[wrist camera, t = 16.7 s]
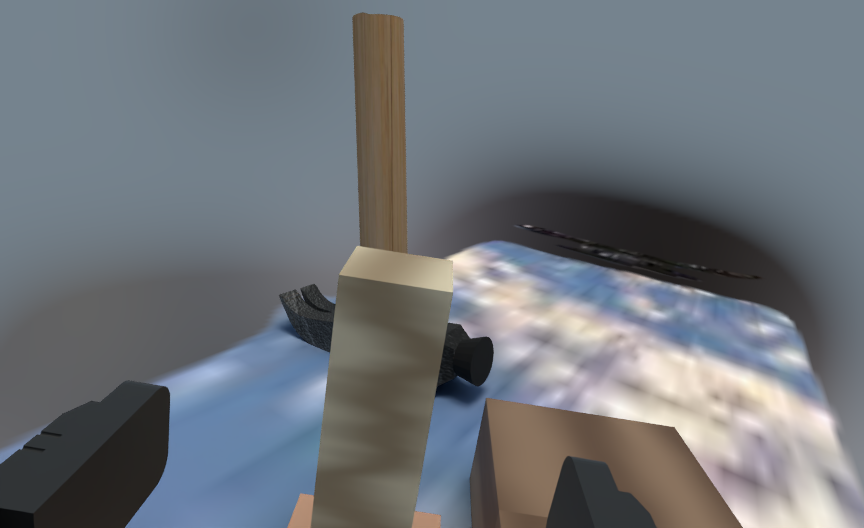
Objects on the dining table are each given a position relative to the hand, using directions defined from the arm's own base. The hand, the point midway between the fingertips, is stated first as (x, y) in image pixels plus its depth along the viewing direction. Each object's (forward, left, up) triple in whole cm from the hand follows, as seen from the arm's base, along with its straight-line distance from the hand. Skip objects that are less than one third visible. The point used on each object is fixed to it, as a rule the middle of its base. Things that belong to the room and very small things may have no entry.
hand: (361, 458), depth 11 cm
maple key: (0, +11, -15) cm, 19 cm away
